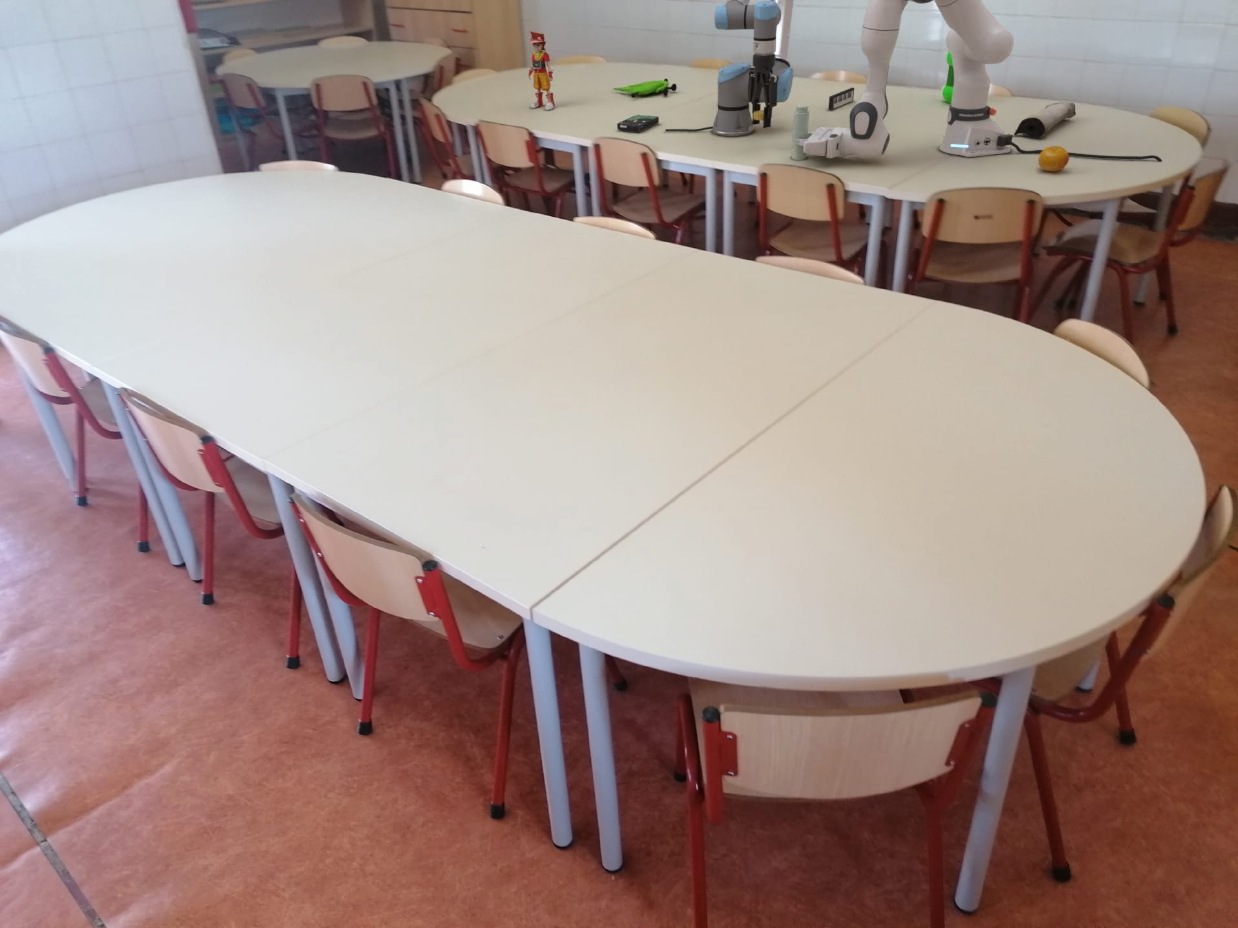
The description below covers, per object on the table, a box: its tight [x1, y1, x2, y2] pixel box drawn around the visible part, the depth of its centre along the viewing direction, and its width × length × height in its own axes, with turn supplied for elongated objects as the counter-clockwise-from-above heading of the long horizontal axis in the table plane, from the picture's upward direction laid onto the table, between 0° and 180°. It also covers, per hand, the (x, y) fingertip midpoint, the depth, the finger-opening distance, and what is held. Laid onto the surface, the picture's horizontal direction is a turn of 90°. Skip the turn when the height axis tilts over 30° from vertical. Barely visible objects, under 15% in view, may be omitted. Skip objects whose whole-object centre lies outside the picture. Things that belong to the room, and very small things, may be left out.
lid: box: [752, 109, 764, 121], centre depth 310 cm, size 6×6×2 cm
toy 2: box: [612, 78, 677, 99], centre depth 396 cm, size 28×5×30 cm
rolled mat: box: [1013, 101, 1077, 140], centre depth 317 cm, size 30×9×10 cm
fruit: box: [1037, 145, 1070, 172], centre depth 278 cm, size 8×8×8 cm
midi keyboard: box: [827, 87, 855, 111], centre depth 358 cm, size 18×1×5 cm, turn 138°
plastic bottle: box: [942, 50, 954, 104], centre depth 348 cm, size 10×10×25 cm
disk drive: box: [616, 114, 660, 133], centre depth 347 cm, size 10×3×15 cm
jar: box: [791, 104, 810, 161], centre depth 300 cm, size 5×5×17 cm
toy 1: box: [527, 31, 556, 111], centre depth 374 cm, size 12×9×30 cm
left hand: (761, 125), depth 312 cm, fingers closed on lid, 5 cm apart
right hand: (797, 138), depth 302 cm, fingers closed on jar, 5 cm apart
